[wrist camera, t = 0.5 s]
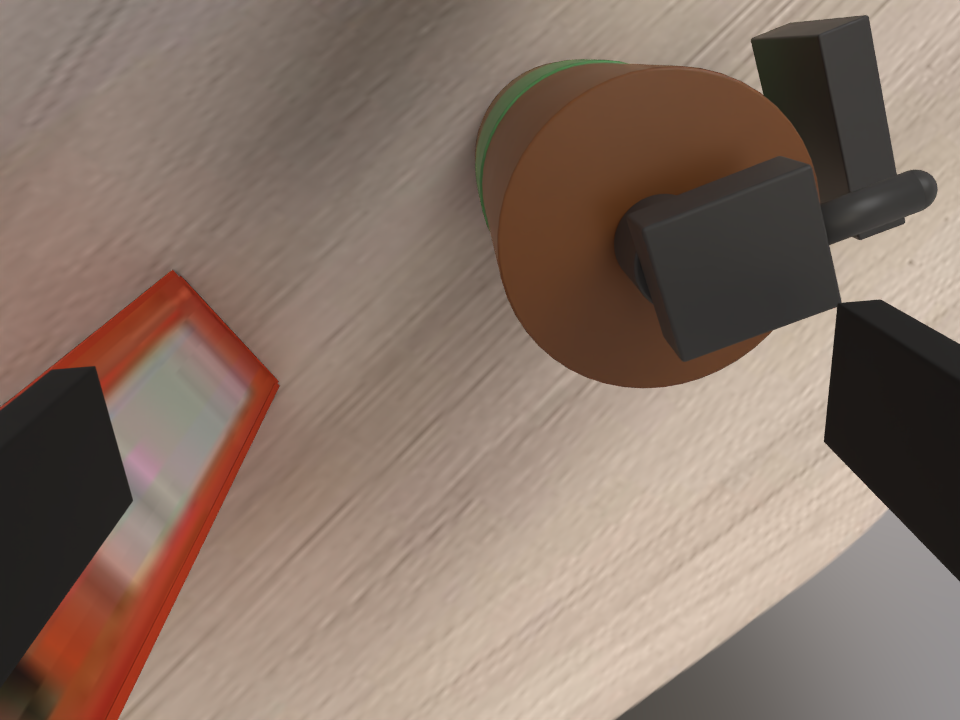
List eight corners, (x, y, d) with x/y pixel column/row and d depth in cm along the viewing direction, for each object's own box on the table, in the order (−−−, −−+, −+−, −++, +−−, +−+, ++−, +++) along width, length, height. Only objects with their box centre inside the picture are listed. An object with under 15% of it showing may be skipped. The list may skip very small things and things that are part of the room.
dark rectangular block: (789, 209, 27) (859, 241, 23) (749, 38, 25) (817, 34, 21) (828, 195, 27) (906, 223, 23) (791, 22, 25) (869, 14, 20)
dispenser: (509, 270, 39) (579, 512, 18) (445, 102, 36) (440, 163, 15) (693, 200, 38) (984, 371, 17) (642, 20, 35) (923, -32, 14)
